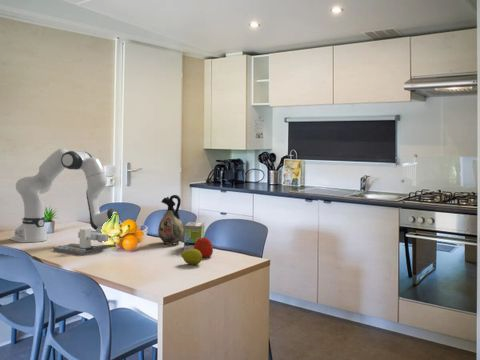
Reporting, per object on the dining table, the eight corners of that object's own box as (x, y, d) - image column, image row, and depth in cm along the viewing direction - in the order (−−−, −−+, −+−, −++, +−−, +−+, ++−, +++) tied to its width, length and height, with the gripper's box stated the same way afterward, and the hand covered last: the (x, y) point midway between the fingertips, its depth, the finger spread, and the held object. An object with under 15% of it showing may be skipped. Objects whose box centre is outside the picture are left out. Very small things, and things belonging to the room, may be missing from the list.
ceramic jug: (153, 244, 271) (153, 194, 269) (164, 240, 286) (165, 193, 284) (179, 247, 266) (180, 196, 264) (189, 242, 281) (190, 194, 279)
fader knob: (77, 248, 245) (77, 229, 245) (84, 246, 250) (84, 227, 249) (85, 249, 242) (85, 230, 242) (92, 248, 247) (92, 228, 246)
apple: (195, 259, 235) (195, 239, 235) (191, 255, 245) (192, 235, 245) (214, 258, 238) (214, 238, 238) (210, 254, 248) (210, 235, 248)
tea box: (201, 252, 253) (201, 225, 253) (183, 251, 254) (183, 225, 253) (204, 246, 269) (204, 221, 268) (187, 246, 269) (187, 221, 268)
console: (53, 251, 248) (53, 246, 247) (73, 246, 260) (73, 242, 260) (81, 255, 238) (81, 250, 238) (100, 251, 250) (100, 246, 250)
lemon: (205, 264, 225) (205, 248, 224) (197, 267, 218) (197, 251, 217) (186, 261, 229) (187, 246, 229) (178, 265, 222) (178, 248, 222)
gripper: (89, 227, 262) (70, 230, 250) (116, 230, 252) (97, 233, 240) (89, 237, 262) (70, 241, 250) (116, 241, 253) (97, 245, 240)
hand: (84, 237), depth 245 cm, fingers closed on fader knob, 4 cm apart
